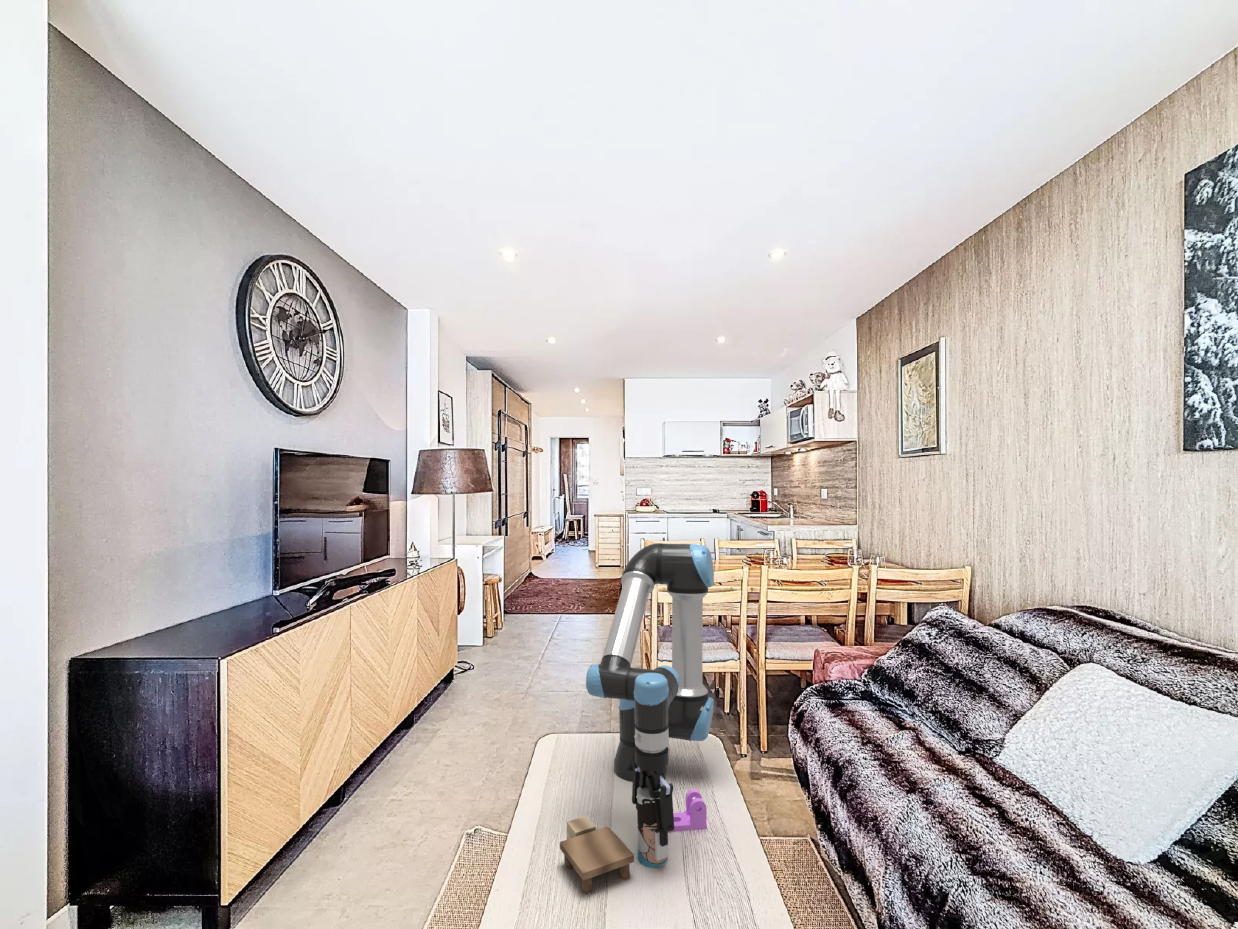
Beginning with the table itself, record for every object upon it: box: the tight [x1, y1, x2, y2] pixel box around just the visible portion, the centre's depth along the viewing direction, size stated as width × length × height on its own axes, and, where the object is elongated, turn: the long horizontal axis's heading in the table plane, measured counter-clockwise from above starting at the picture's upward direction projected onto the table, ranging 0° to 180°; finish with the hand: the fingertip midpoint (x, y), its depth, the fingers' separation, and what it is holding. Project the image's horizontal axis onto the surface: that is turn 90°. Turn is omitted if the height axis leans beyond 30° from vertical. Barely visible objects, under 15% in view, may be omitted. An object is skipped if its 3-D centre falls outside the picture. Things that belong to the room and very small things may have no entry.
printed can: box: [636, 786, 669, 868], centre depth 140 cm, size 7×7×15 cm
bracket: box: [669, 788, 708, 833], centre depth 152 cm, size 13×6×7 cm, turn 97°
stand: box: [559, 825, 635, 895], centre depth 135 cm, size 12×12×5 cm
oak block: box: [566, 815, 597, 840], centre depth 144 cm, size 5×5×5 cm
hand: (652, 848), depth 140 cm, fingers closed on printed can, 7 cm apart
